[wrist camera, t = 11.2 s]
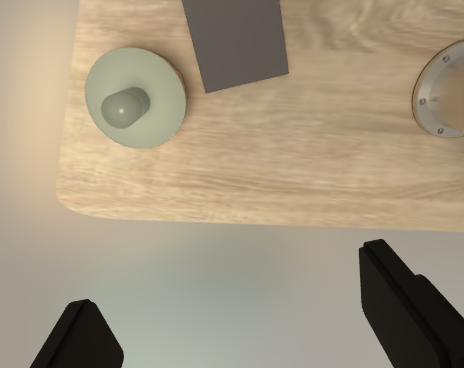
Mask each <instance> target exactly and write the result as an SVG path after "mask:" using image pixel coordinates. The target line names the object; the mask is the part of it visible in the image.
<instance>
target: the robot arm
mask: <svg viewBox="0 0 464 368" xmlns="http://www.w3.org/2000/svg"><path fill="white" fill-rule="evenodd" d="M412 105H413V113H414V116H415V119H416V121H417V122H418V124H419V125H420V126H421V127H422V128H423V129H424V130H425V131H427V132H429V133H430V134H433V135H435V136H438V137H444V138H455V137H460V136H464V41H462V42H458V43H456V44H454V45H452V46H450V47H448V48H446V49H445V50H443V51H442V52H440V53H439V54H438V55H437V56H436V57H435V58H434V59H432V61H431V62H430V63H429V64H428V65H427V66H426V68H425V69H424V71H423V72H422V74H421V75H420V77H419V79H418V82H417V84H416V86H415V90H414V94H413V103H412ZM359 264H360V282H361V303H362V308H363V312H364V314H365V316H366V318H367V320H368V322H369V323H370V325H371V327H372V329H373V331H374V333H375V334H376V336H377V338H378V340H379V342H380V344H381V345H382V347H383V349H384V351H385V352H386V354H387V356H388V358H389V360H390V362H391V363H392V365H393V367H394V368H464V318H463V317H462V316H461V315H460V314H459V313H458V311H457V310H456V309H455V308H454V307H453V306H452V305H451V304H450V303H449V302H448V301H447V300H446V298H445V297H444V296H443V295H442V294H441V293H440V292H439V291H438V290H437V289H436V288H435V286H434V285H433V284H432V283H431V282H430V281H429V280H428V279H427V278H426V277H425V276H423V275H421V274H419V275H414V274H413V273H412V271H411V270H410V269H409V268H408V267H407V266H406V264H405V263H404V262H403V261H402V260H401V259H400V258H399V256H398V255H397V254H396V253H395V252H394V251H393V250H392V248H391V247H390V246H389V245H388V244H387V243H386V242H385V241H384V240H383V239H378V240H373V241H368V242H365V243H364V245H363V247H361V248H359ZM123 360H124V354H123V350H122V348H121V346H120V345H119V343H118V341H117V340H116V338H115V336H114V334H113V333H112V331H111V329H110V328H109V326H108V324H107V323H106V321H105V319H104V317H103V316H102V314H101V312H100V311H99V309H98V307H97V305H96V304H95V303H94V302H91V301H90V300H89V299H85V300H79V301H74V302H71V303H69V304H68V305H67V307H66V309H65V310H64V312H63V313H62V315H61V317H60V318H59V320H58V322H57V323H56V325H55V327H54V328H53V330H52V332H51V333H50V335H49V337H48V338H47V340H46V342H45V343H44V345H43V347H42V348H41V350H40V352H39V353H38V355H37V357H36V358H35V360H34V361H33V363H32V365H31V366H30V368H121V367H122V364H123Z"/></svg>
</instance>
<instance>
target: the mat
mask: <svg viewBox="0 0 464 368" xmlns="http://www.w3.org/2000/svg"><path fill="white" fill-rule="evenodd" d="M182 2H183V6H184V10H185V14H186V18H187V22H188V26H189V30H190V34H191V37H192V41H193V45H194V49H195V53H196V57H197V61H198V65H199V69H200V73H201V77H202V81H203V84H204V88H205V92H206V93H210V92H214V91H218V90H222V89H226V88H231V87H235V86H239V85H243V84H247V83H251V82H255V81H259V80H264V79H268V78H272V77H276V76H280V75H284V74H288V73H289V71H288V63H287V56H286V49H285V41H284V34H283V26H282V19H281V11H280V4H279V0H182Z"/></svg>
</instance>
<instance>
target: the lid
mask: <svg viewBox="0 0 464 368" xmlns="http://www.w3.org/2000/svg"><path fill="white" fill-rule="evenodd" d="M85 99H86V104H87V108H88V111H89V113H90V115H91V117H92V119H93V121H94V122H95V124H96V125H97V126H98V128H99V129H100V130H101V131H102V132H103V133H104V134H105V135H106V136H108V137H109V138H110V139H112V140H113V141H115V142H117V143H119V144H121V145H123V146H126V147H130V148H135V149H148V148H153V147H156V146H159V145H161V144H163V143H165V142H167V141H168V140H169V139H170V138H172V137H173V136H174V134H175V133H176V132H177V131H178V129H179V128H180V126H181V124H182V122H183V119H184V116H185V112H186V94H185V89H184V86H183V83H182V81H181V79H180V77H179V75H178V74H177V72H176V71H175V70H174V68H173V67H172V66H171V65H170V64H169V63H168V62H167V61H166V60H164V59H163V58H162V57H160V56H159V55H157V54H155V53H153V52H151V51H148V50H145V49H141V48H119V49H115V50H112V51H110V52H108V53H106V54H104V55H103V56H102V57H100V58H99V59H98V60H97V61H96V62H95V63H94V65H93V66H92V68H91V69H90V71H89V73H88V76H87V79H86V84H85Z"/></svg>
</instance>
